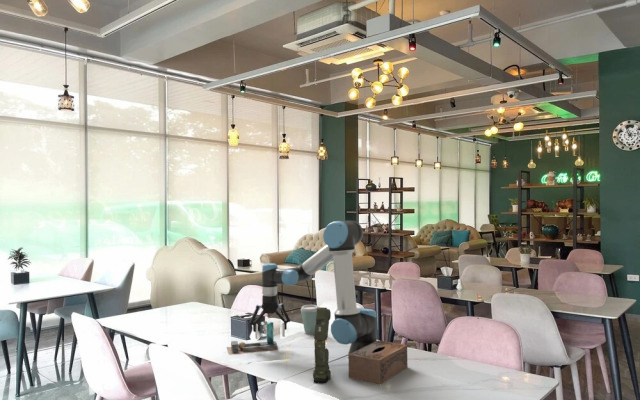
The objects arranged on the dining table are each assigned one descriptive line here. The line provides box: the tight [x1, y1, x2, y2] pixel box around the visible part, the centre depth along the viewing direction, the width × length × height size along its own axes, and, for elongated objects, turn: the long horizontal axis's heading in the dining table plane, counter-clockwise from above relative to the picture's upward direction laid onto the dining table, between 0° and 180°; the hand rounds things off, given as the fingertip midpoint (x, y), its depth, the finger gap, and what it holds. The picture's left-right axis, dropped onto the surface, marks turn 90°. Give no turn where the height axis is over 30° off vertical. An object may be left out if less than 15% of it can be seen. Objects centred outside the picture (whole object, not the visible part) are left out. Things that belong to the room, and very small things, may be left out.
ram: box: [259, 321, 278, 346], centre depth 244 cm, size 8×4×11 cm, turn 105°
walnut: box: [238, 341, 246, 350], centre depth 240 cm, size 4×4×4 cm
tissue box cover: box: [348, 339, 408, 386], centre depth 209 cm, size 26×14×10 cm, turn 145°
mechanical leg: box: [312, 306, 332, 385], centre depth 203 cm, size 14×7×30 cm, turn 168°
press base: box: [226, 340, 279, 356], centre depth 241 cm, size 24×13×5 cm, turn 105°
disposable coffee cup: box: [300, 304, 319, 335], centre depth 276 cm, size 11×11×15 cm
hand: (270, 337), depth 244 cm, fingers open, 13 cm apart
